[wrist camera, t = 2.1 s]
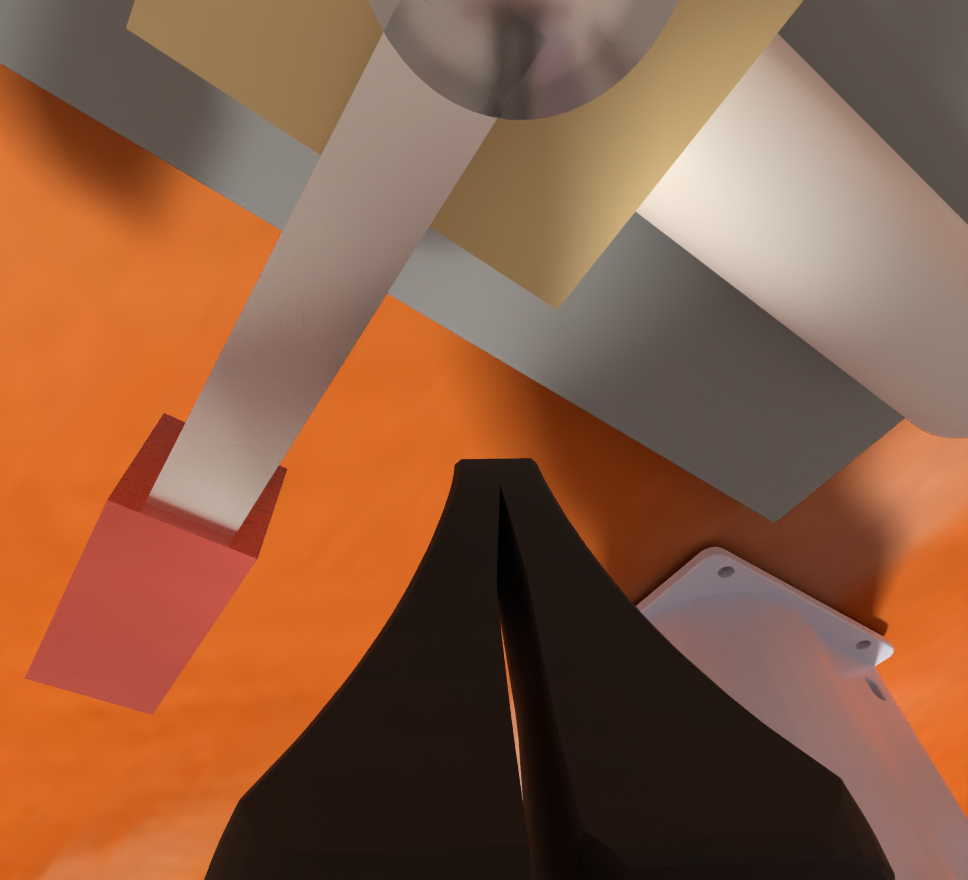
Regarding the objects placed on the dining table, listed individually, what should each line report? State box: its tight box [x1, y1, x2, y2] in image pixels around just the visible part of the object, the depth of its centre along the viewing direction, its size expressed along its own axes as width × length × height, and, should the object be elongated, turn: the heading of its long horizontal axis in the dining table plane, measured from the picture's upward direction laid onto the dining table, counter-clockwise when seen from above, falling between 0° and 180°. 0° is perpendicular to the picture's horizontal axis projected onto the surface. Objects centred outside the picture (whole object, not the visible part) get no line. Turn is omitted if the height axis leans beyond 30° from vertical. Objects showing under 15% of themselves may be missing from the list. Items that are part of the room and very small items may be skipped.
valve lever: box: [25, 0, 678, 714], centre depth 8 cm, size 3×13×2 cm, turn 145°
